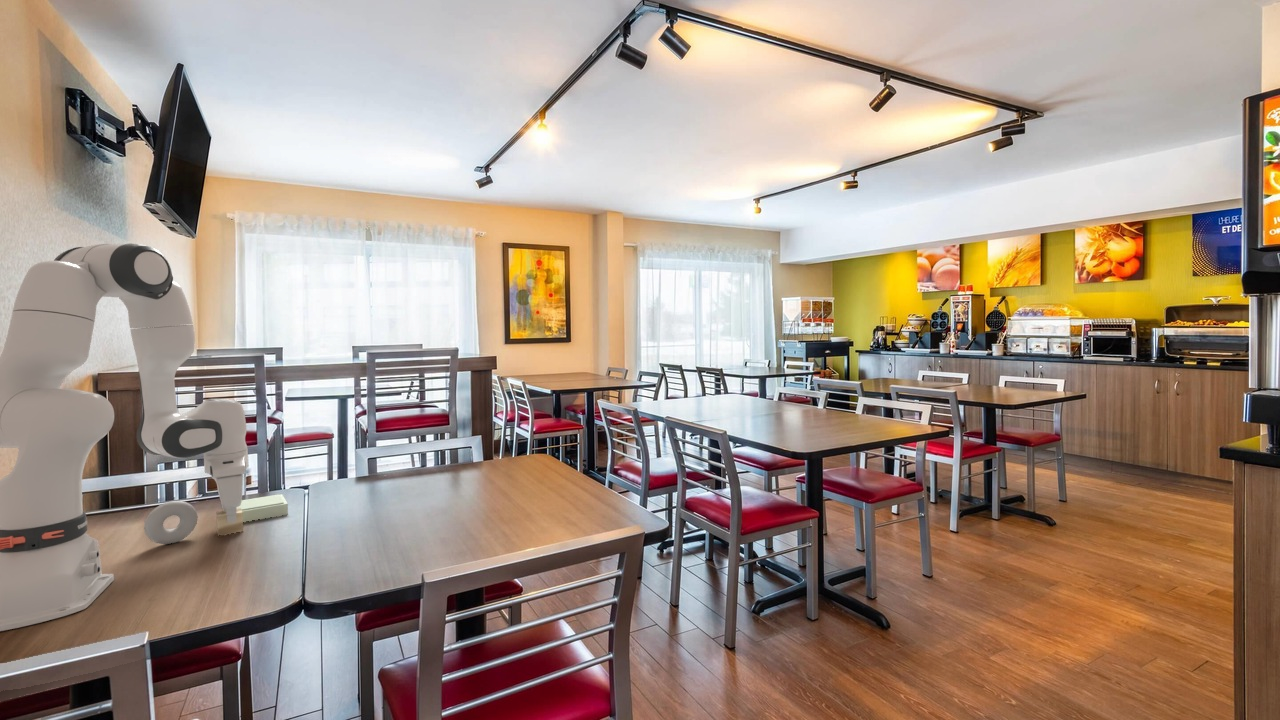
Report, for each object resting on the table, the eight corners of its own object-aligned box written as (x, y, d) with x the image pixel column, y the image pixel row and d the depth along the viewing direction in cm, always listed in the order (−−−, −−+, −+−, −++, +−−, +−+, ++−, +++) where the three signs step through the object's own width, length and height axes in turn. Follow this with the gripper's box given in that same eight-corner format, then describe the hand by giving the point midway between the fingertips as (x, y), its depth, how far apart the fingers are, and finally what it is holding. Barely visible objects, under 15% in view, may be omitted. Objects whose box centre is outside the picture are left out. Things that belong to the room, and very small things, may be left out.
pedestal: (288, 514, 152) (287, 502, 152) (233, 524, 145) (233, 511, 145) (282, 504, 162) (282, 493, 161) (231, 513, 154) (230, 501, 154)
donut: (148, 551, 127) (145, 508, 126) (142, 548, 129) (140, 505, 128) (201, 538, 135) (199, 497, 135) (195, 535, 137) (193, 495, 136)
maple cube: (243, 532, 139) (242, 512, 139) (218, 536, 136) (217, 516, 136) (241, 526, 143) (240, 507, 143) (217, 531, 140) (216, 511, 140)
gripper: (208, 457, 145) (212, 509, 146) (212, 472, 129) (216, 531, 130) (238, 453, 149) (241, 504, 150) (246, 468, 133) (249, 524, 134)
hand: (230, 517), depth 140 cm, fingers open, 8 cm apart
